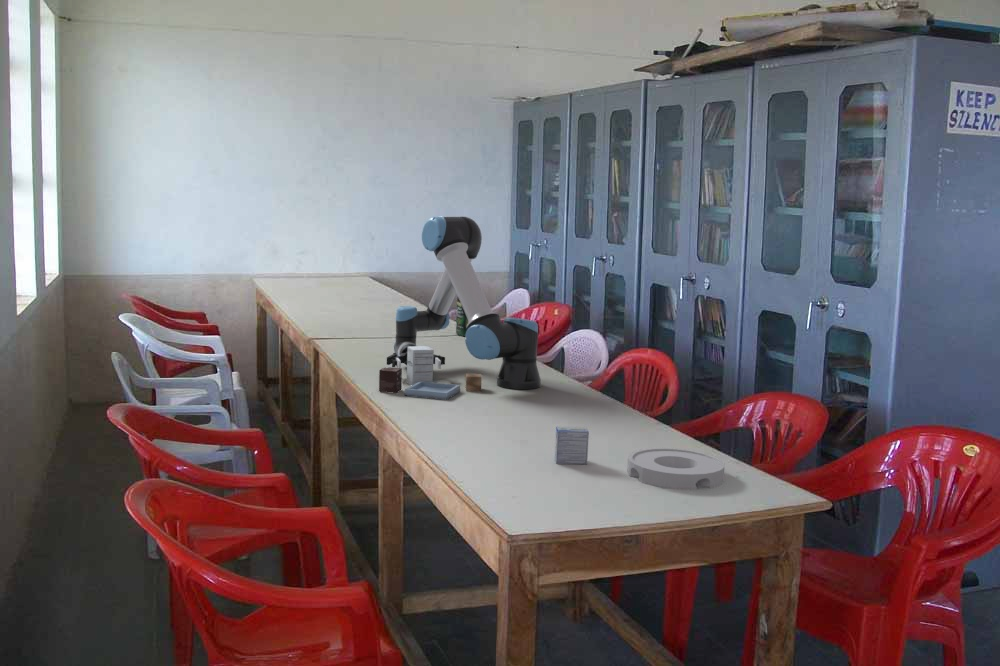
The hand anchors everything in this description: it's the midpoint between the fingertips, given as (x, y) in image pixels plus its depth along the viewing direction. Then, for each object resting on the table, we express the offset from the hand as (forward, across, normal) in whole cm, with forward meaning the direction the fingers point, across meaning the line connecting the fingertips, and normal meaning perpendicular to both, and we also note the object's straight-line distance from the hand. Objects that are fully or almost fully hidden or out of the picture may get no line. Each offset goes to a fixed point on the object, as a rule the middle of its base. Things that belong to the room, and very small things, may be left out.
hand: (419, 365), depth 333 cm
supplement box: (-1, 0, -7) cm, 7 cm away
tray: (+14, -2, -7) cm, 16 cm away
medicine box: (+96, -22, -7) cm, 98 cm away
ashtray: (+109, -44, -8) cm, 118 cm away
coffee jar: (-108, -39, -7) cm, 115 cm away
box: (+9, +11, -7) cm, 16 cm away
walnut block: (+8, -17, -7) cm, 20 cm away
